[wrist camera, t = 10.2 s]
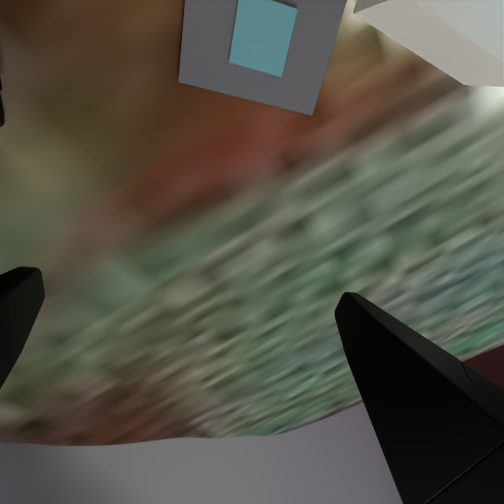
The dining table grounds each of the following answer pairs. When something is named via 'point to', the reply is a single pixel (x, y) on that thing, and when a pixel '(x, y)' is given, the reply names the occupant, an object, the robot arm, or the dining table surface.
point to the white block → (446, 34)
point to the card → (260, 48)
